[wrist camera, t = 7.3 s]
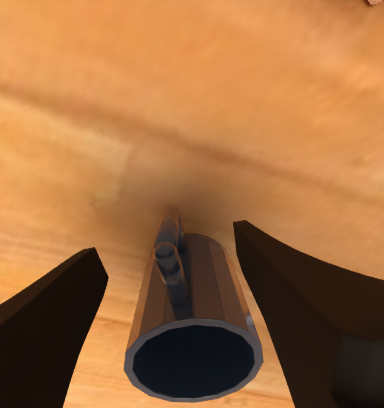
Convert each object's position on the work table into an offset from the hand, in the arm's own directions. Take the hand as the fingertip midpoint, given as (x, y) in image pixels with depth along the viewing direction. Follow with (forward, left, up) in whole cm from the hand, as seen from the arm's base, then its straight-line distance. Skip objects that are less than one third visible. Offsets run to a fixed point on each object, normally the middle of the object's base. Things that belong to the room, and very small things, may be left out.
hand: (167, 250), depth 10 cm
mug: (-5, 0, -6) cm, 8 cm away
